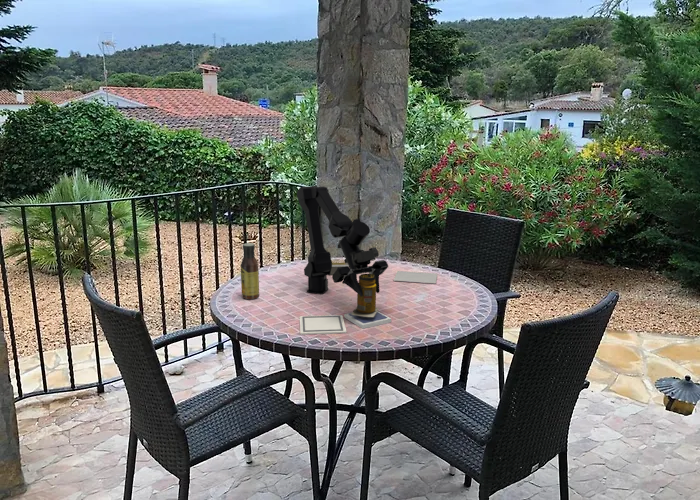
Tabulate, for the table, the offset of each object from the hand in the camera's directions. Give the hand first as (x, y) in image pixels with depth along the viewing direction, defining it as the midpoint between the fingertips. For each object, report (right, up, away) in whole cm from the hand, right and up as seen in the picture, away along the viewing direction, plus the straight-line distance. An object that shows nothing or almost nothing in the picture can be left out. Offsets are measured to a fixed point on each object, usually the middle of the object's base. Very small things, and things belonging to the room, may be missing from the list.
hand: (370, 294), depth 175 cm
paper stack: (+15, +1, +45) cm, 48 cm away
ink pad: (-1, -9, +3) cm, 9 cm away
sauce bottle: (-42, -3, +23) cm, 49 cm away
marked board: (-15, -10, -2) cm, 18 cm away
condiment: (-2, -6, +3) cm, 7 cm away
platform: (-11, +3, +52) cm, 53 cm away
